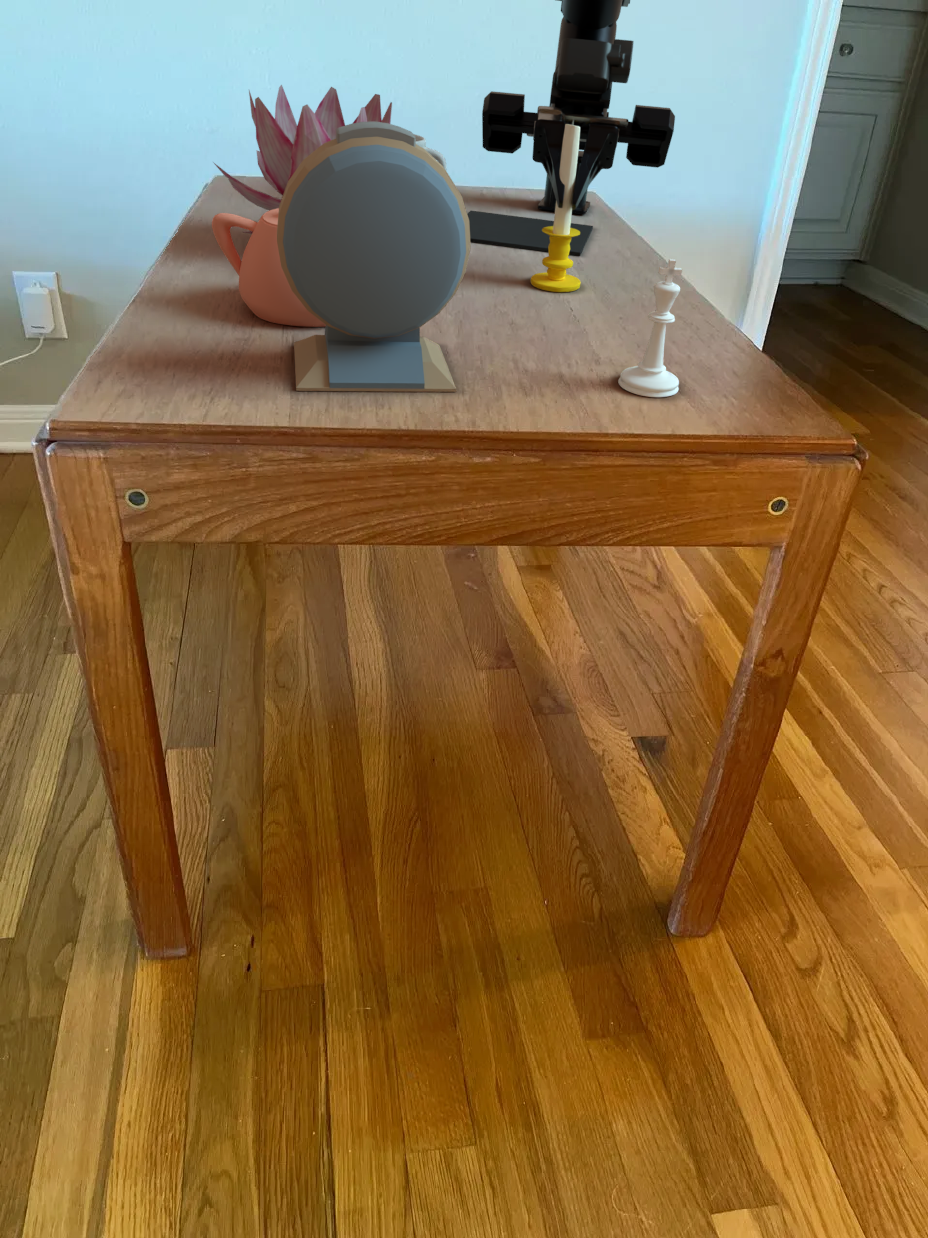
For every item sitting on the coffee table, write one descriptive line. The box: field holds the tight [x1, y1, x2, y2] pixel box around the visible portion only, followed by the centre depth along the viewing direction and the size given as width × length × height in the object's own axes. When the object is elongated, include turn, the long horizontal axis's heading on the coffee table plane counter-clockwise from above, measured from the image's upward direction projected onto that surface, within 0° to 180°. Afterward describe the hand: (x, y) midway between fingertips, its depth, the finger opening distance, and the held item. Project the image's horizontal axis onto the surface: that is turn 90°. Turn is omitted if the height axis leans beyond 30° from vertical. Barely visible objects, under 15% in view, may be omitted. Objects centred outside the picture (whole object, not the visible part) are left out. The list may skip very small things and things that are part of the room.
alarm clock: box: [277, 121, 472, 393], centre depth 71 cm, size 14×10×18 cm
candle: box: [530, 118, 582, 293], centre depth 95 cm, size 5×5×16 cm
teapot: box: [211, 208, 326, 328], centre depth 85 cm, size 12×18×10 cm
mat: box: [467, 210, 594, 257], centre depth 116 cm, size 14×16×1 cm
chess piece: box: [617, 258, 683, 398], centre depth 75 cm, size 5×5×10 cm
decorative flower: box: [212, 84, 393, 235], centre depth 99 cm, size 21×21×15 cm
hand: (567, 205), depth 93 cm, fingers closed on candle
